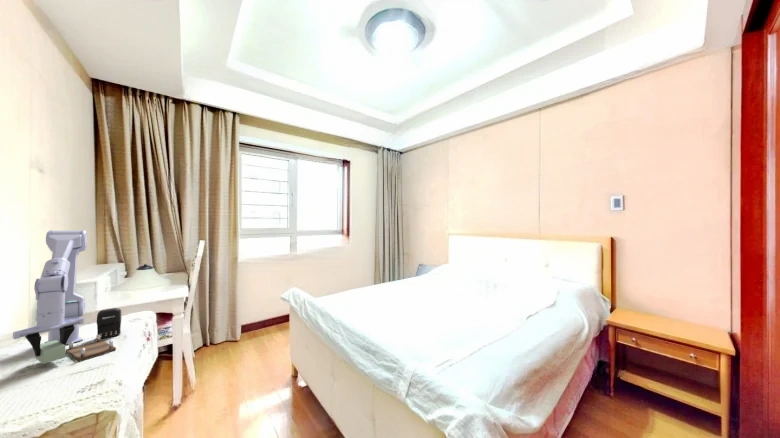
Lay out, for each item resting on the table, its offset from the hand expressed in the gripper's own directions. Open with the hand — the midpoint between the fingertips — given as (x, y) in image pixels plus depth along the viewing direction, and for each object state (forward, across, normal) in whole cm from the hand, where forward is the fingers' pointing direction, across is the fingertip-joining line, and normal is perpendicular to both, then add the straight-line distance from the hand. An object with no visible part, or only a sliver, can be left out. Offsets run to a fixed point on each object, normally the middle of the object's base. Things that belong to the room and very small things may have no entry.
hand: (50, 352), depth 89 cm
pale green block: (+2, 0, 0) cm, 2 cm away
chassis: (+4, +10, 0) cm, 10 cm away
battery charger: (+4, +18, +11) cm, 21 cm away
